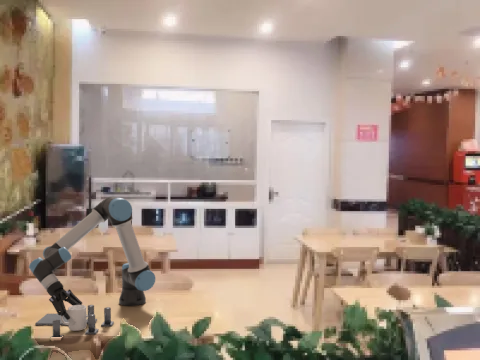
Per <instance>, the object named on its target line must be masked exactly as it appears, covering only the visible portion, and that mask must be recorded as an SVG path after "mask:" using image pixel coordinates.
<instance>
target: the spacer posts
mask: <svg viewBox="0 0 480 360" xmlns="http://www.w3.org/2000/svg"><path fill="white" fill-rule="evenodd" d="M111 309H112V308H111V307H109V306H107V307H104V309H103V311H104V312H103V314H104V315H103V317H104V318H103V320H104V321H103V322H102V323H101V328H102V327H105V328H106V327H107V328H108V327H112V326H113V325H114V324H115V321H113V320H112V310H111ZM87 315H88V317H87V318H86V325H88V327H87V328H88V329H87V330H86V331H85V332H84V335H97V334H98V332H99V328H96V323H97V322H98V318H96V314H95V305H94V304H88V305H87ZM62 336H64V337H65V335H63V334H61V325H60V320H54V321H53V325H52V336H51V337H62Z"/></svg>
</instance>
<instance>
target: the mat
mask: <svg viewBox="0 0 480 360" xmlns="http://www.w3.org/2000/svg"><path fill="white" fill-rule="evenodd" d="M54 320H60V326H66V325H65V324H63V323H62V321H61V315H58V313H45V315H43V317H41V318H40V319H39V320H37V321H36V322H35V323H34V325H35V326H53V321H54ZM63 320H64V322H69V321H68V320H67V319H66V318H65V317H64V315H63Z"/></svg>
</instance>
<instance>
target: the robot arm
mask: <svg viewBox="0 0 480 360" xmlns="http://www.w3.org/2000/svg"><path fill="white" fill-rule="evenodd" d="M132 213H133V207H132V204H131V203H130V202H129V201H128V200H127V199H125V198H123V197H116V196H109V197H106V198H103V200H102V201H101V202H99V203H98V204H97V205H95V207H93V208H91V212H90V213H89V214H87V216H85V217H84V218H83V219H82V220H80V221H79V222H78V223H77V224H76V225H74V226H73V227H72V228H71V229H69V231H68V232H66V233H65V234H63V235H62V237H60V238H59V239H58V240H56V242H54V243H53V244H52V245H49V246H46V247H45V248H44V250H43V252H42V256H43V258H42V257H37V258H35V259H33V260H32V261H31V262H30V263H29V265H28V269H29V270H30V271H31V273H32V275H33V276H34V277H35V278H36V279H37V281H38V282H39V283H40V284H41V286H42V287H43V288H44V289H45V290H46V292H47V294H48V295H49V296H51V297H49V299H48V301H49V302H50V303H51V304H52V306H53V308H54V309H55V311H56V314H58V315H61V316H63V315H64V317H65V318H66V319H67V320H68V321H69V322H70V324H71V325H72V326H73V325H74V324H75V323H76V321H75V319H74V318H73V317H72V315H71V314H70V313H69V312H67V311H66V310H67V309H66V305H65V302H67V303H68V304H70V306H74V305H83V302H82V301H81V300H80V299H79V298H78V297H77V295H75V293H73V292H72V290H71V289H67V290H66V289H64V285H63V283H61V281H60V280H59V278H58V277H57V276H56V274H55V273H54V272H55V270H57V269H58V268H60V267H62V266H63V265H64V264H67V263H68V262H69V261H70V260H71V259H72V255H71V253H70V251H69V250H70V249H71V248H72V247H73V246H75V245H76V244H77V243H78V242H80V241H81V240H82V239H83V238H85V237H86V236H87V235H88V234H89V233H90V232H91V231H93V230H95V228H96V227H97V226H99V224H101V223H105V222H106V221H108V220H109V222H110V224H111V226H112V227H114V228H115V229H116V232H117V235H118V238H119V241H120V244H121V247H122V249H123V252H124V255H125V256H124V257H125V258H126V260H127V262H126V263H123V264H122V266H121V293H120V294H119V298H118V303H119V304H120V305H121V306H126V307H127V306H128V307H129V306H131V307H132V306H140V305H144V304H145V303H146V295H145V292H146V291H150V290H151V288H153V287H154V285H155V283H156V275H155V273H154V272H153V271H152V270H151V268H150V265H149V263H148V262H147V261H145V260H144V256H143V254H142V251H141V247H140V245H139V242H138V241H139V240H138V239H137V235H136V233H135V230H134V227H133V225H132V220H133V219H134V218H133V215H132ZM86 319H88V313H86Z"/></svg>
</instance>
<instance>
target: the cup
mask: <svg viewBox="0 0 480 360" xmlns="http://www.w3.org/2000/svg"><path fill="white" fill-rule="evenodd" d="M66 311H67V312H69V313H70V314H71V315H72V317H73V318H74V319H75V321H76V323H75V324H74V325H73V326H72V325H71V324H70V322H64V320H63V316H61V321H62V323H63V324H65V325H64V326H68V329H69V330H70V331H76V332H77V331H81V330H84V329H86V328H87V324H86V320H87V318H86V314H87V306H86V305H83V304H82V305H74V306H72V305H70V306H69V307H68V308H67V309H66Z"/></svg>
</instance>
